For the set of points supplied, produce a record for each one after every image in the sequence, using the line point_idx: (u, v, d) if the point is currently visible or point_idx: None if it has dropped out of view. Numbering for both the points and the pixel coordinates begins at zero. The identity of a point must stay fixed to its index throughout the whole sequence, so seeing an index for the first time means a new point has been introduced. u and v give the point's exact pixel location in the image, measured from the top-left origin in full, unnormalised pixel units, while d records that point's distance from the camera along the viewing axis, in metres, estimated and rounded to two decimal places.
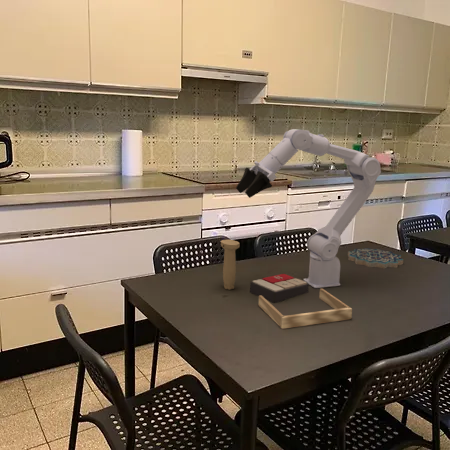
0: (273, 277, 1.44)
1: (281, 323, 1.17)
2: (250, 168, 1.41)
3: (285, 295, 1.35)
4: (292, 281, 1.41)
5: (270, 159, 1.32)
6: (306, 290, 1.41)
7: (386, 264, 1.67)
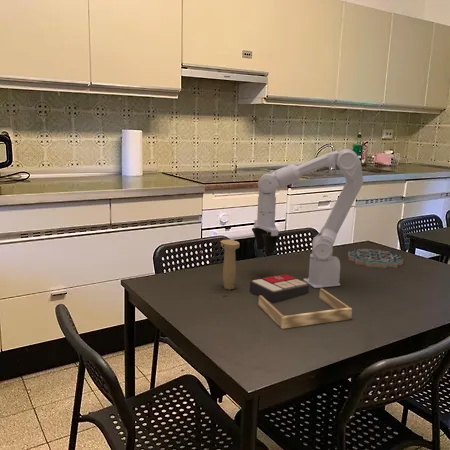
0: (274, 277, 1.44)
1: (281, 323, 1.17)
2: (254, 223, 1.55)
3: (283, 295, 1.35)
4: (292, 282, 1.41)
5: (262, 216, 1.45)
6: (306, 291, 1.40)
7: (386, 264, 1.67)
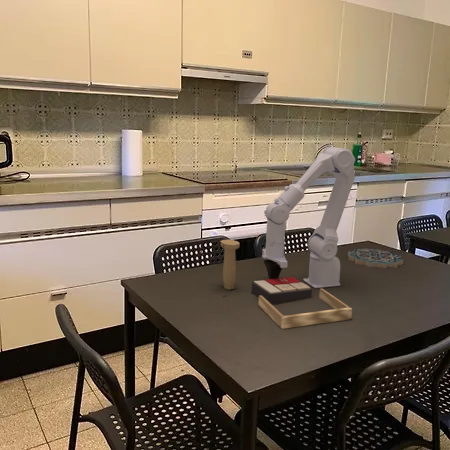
0: (278, 279, 1.42)
1: (281, 323, 1.17)
2: (262, 252, 1.50)
3: (282, 298, 1.33)
4: (295, 285, 1.38)
5: (271, 247, 1.40)
6: (309, 295, 1.37)
7: (386, 264, 1.67)
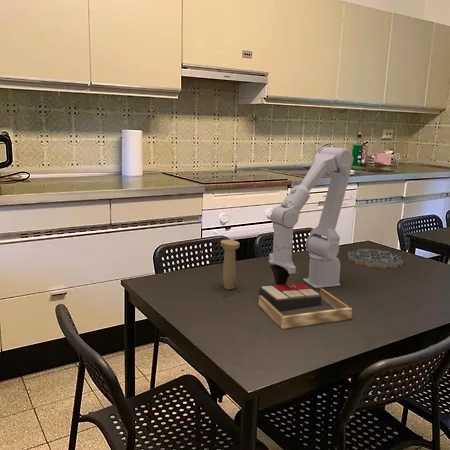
0: (286, 285, 1.38)
1: (281, 323, 1.17)
2: (269, 257, 1.45)
3: (289, 305, 1.28)
4: (304, 291, 1.33)
5: (279, 252, 1.35)
6: (318, 302, 1.32)
7: (386, 263, 1.67)
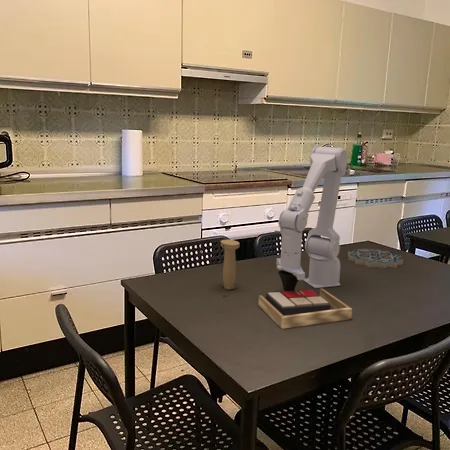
0: (294, 292, 1.32)
1: (281, 323, 1.17)
2: (276, 262, 1.40)
3: (296, 313, 1.23)
4: (312, 299, 1.28)
5: (287, 257, 1.30)
6: None
7: (386, 263, 1.67)
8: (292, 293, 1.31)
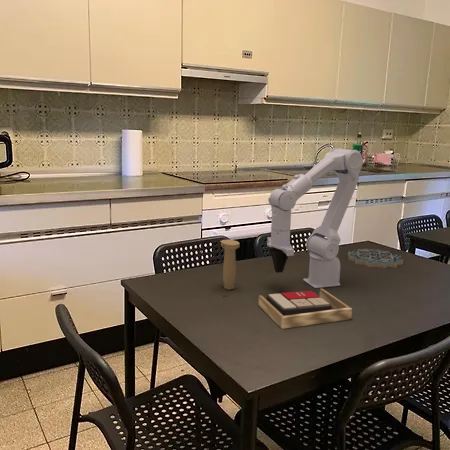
0: (295, 293, 1.31)
1: (281, 323, 1.17)
2: (267, 241, 1.46)
3: None
4: (313, 300, 1.27)
5: (277, 235, 1.36)
6: None
7: (386, 263, 1.67)
8: (293, 294, 1.30)
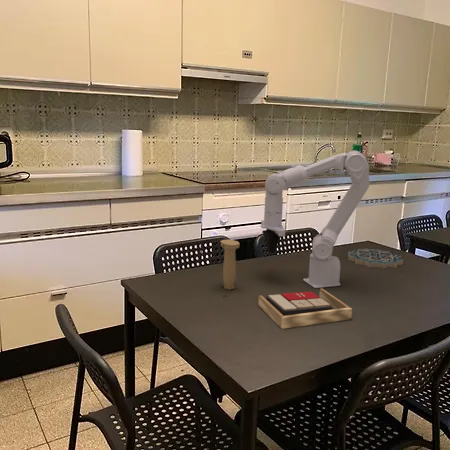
0: (295, 294, 1.31)
1: (281, 323, 1.17)
2: (261, 224, 1.55)
3: None
4: (313, 301, 1.26)
5: (269, 217, 1.45)
6: None
7: (386, 264, 1.67)
8: (293, 295, 1.30)
